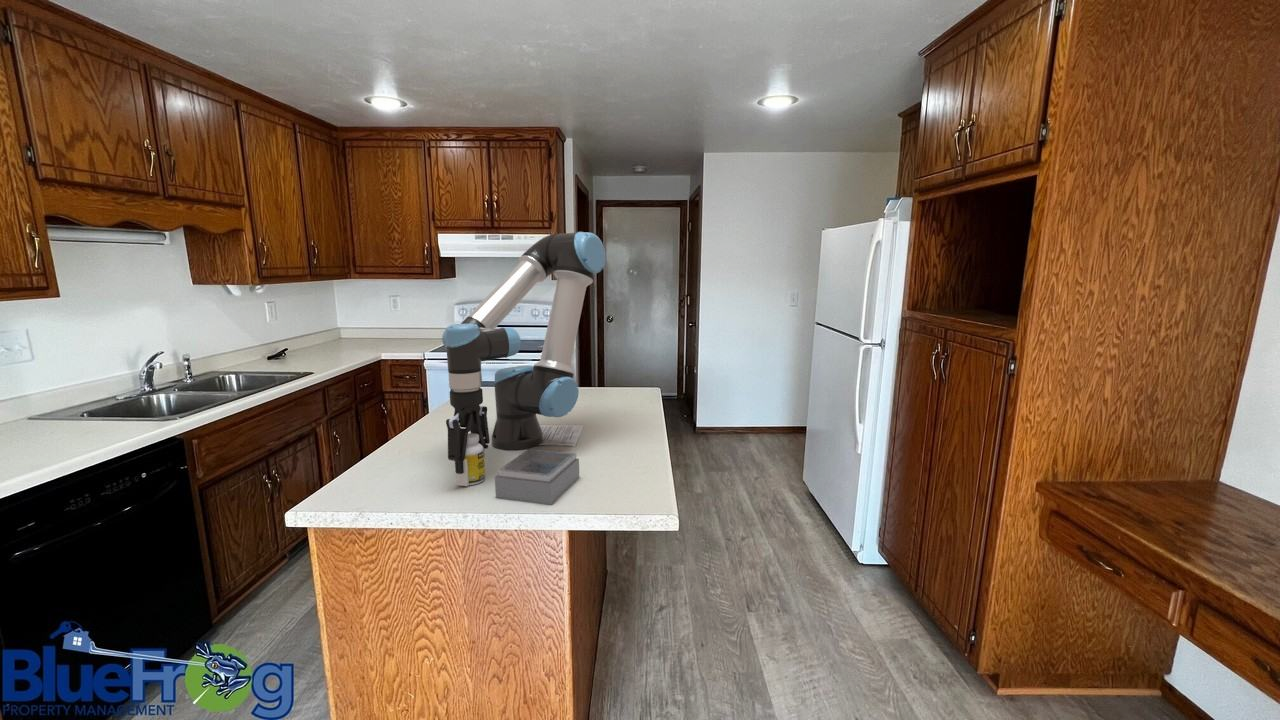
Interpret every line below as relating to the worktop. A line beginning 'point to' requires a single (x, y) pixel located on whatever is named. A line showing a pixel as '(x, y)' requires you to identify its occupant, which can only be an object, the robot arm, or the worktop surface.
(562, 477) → the square metal tray
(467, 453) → the pill bottle
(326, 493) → the worktop surface
